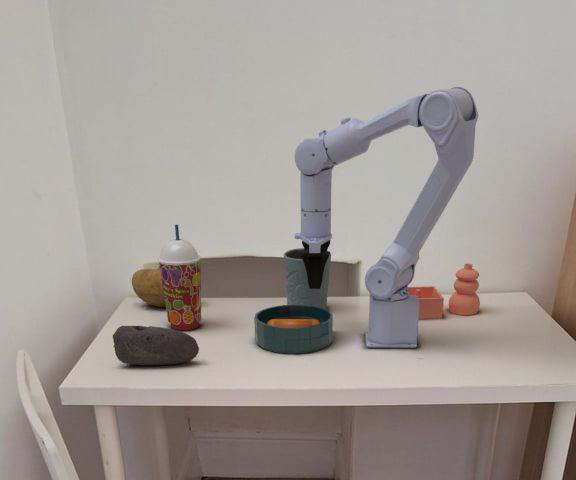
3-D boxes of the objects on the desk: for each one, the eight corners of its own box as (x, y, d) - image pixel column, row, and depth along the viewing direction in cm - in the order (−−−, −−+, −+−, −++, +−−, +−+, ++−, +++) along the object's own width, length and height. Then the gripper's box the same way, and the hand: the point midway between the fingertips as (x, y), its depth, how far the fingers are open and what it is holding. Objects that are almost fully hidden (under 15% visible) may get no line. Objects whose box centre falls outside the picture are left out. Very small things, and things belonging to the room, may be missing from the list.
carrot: (321, 338, 147) (322, 319, 147) (321, 337, 144) (321, 318, 143) (266, 338, 148) (266, 319, 147) (264, 337, 144) (264, 318, 144)
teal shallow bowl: (332, 329, 152) (332, 304, 149) (332, 354, 139) (332, 328, 137) (259, 328, 153) (258, 304, 150) (252, 354, 140) (251, 328, 138)
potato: (192, 312, 163) (189, 274, 159) (129, 311, 164) (124, 274, 160) (200, 299, 172) (197, 263, 168) (140, 299, 173) (135, 263, 169)
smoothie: (157, 330, 153) (146, 227, 143) (177, 318, 160) (168, 219, 149) (193, 334, 150) (185, 230, 140) (212, 322, 157) (205, 222, 146)
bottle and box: (399, 319, 157) (402, 271, 152) (392, 306, 165) (394, 260, 160) (484, 317, 157) (490, 269, 152) (473, 304, 165) (478, 258, 160)
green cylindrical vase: (314, 300, 170) (315, 245, 163) (339, 311, 162) (340, 254, 156) (276, 307, 165) (274, 251, 159) (299, 319, 158) (299, 261, 152)
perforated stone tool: (202, 358, 138) (199, 321, 135) (198, 369, 134) (195, 331, 130) (121, 358, 139) (116, 322, 135) (115, 369, 134) (109, 331, 131)
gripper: (296, 203, 146) (296, 273, 153) (292, 216, 134) (293, 293, 141) (332, 202, 146) (331, 273, 153) (332, 216, 133) (330, 293, 141)
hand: (315, 283), depth 147 cm, fingers open, 7 cm apart
